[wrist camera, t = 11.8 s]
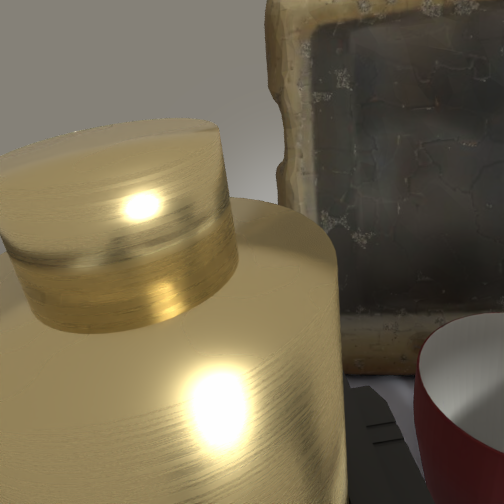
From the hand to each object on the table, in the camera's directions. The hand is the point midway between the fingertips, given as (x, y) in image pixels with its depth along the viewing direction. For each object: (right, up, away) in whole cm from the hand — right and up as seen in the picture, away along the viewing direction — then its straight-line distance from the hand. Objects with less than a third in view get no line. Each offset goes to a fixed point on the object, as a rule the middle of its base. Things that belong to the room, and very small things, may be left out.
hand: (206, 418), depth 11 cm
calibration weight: (+1, -7, +1) cm, 7 cm away
